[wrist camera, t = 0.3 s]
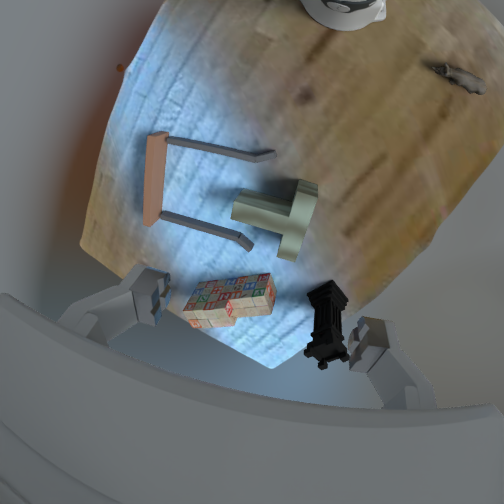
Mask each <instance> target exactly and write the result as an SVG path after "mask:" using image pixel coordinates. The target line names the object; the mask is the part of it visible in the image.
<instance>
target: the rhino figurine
mask: <svg viewBox="0 0 504 504" xmlns="http://www.w3.org/2000/svg"><path fill="white" fill-rule="evenodd" d="M444 65H445V67H432V68H433V69H434V70H435V73H437V74H439V75H442V76H444V77H451V78H450V81H449V82H450V83H451V84H452V85H453V84H456V85H458V86H461V85H462V86H463V87H464V88H465V89H467V91H468V92H469V93H470V94H471V93H476V94H478V95H483V94H485V92H486V90H487V87H486V84H485V82H484V81H483V80H482V79H481V78H478V77H476V76H474V75H473V74H471V73H469V72H466V71H464V70H462V69H460V68H456V69H452V68H449V67H448V65H447V63H445V64H444ZM452 78H453V79H452Z"/></svg>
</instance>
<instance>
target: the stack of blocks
mask: <svg viewBox="0 0 504 504" xmlns="http://www.w3.org/2000/svg"><path fill="white" fill-rule="evenodd" d="M276 293H277V290H276V287H275V285H274V281H273V278H272V276H271V273H268V274H262V275H253V276H245V277H238V278H232V279H225V280H215V281H207V282H199V284H198V285H197V287H196V289H195V291H194V292H193V294H192V296H191V297H190V299H189V300H188V302H187V305H186V306H185V308H184V310H183V313H184V314H185V316H186V318H187V319H188V321H189V323H190V324H191V326H192V327H193V328H212V327H223V326H224V327H227V326H234V325H235V322H236V320H237V318H238V317H252V316H261V315H271V314H272V310H273V306H274V302H275V298H276Z"/></svg>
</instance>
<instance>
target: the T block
mask: <svg viewBox="0 0 504 504" xmlns="http://www.w3.org/2000/svg"><path fill="white" fill-rule="evenodd" d="M317 199H318V185H317V184H314V183H311V182H307V181H304V180H301V179H299V182H298V185H297V189H296V192H295V195H294V199H293V202H290V201H287V200H284V199H280V198H277V197H273V196H270V195H267V194H263V193H259V192H256V191H252V190H249V189H245V188H244V189H243V190H242V191H241V193H240V194H239V195H238V197H237V198H236V199H235V201H234V204H233V209H232V214H231V219H232V220H235V221H239V222H242V223H246V224H249V225H253V226H256V227H259V228H263V229H266V230H269V231H273V232H276V233H279V234H282V237H281V241H280V245H279V249H278V253H277V257H278V258H282V259H285V260H288V261H291V262H295V261H296V258H297V255H298V253H299V250H300V247H301V244H302V242H303V239H304V236H305V233H306V231H307V228H308V225H309V222H310V219H311V216H312V214H313V211H314V208H315V205H316V202H317Z"/></svg>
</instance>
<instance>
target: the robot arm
mask: <svg viewBox="0 0 504 504" xmlns="http://www.w3.org/2000/svg"><path fill="white" fill-rule="evenodd" d="M300 1H301V2H302V3H303V5H304V7H305V9H306V10H307V12H308V13H309V15H310V16H311V17H312V18H313V19H315V20H316V21H317V22H319V23H320V24H322V25H324V26H326V27H329V28H332V29H335V30H341V31H352V30H357V29H360V28H363V27H365V26H366V25H368V24H369V23H371V22H376V21H382V20H384V19H385V18H386V4H385V0H300ZM380 11H382V12H380ZM169 282H170V274H169V273H168V272H165V271H162V270H158V269H155V268H152V267H147V266H144V265H141V264H136V265H135V266H134V267H133V268H132V269H131V271H130V272H129V273H128V274H127V276H126V277H125V278H124V279H123V281H122V282H121V283H120V284H119V286H113V287H110V288H108V289H106V290H103V291H101V292H99V293H96V294H94V295H91V296H89V297H87V298H84V299H82V300H80V301H77V302H75V303H73V304H71V305H70V306H69V308H68V309H67V310H66V312H65V313H64V314H63V315H62V317H61V318H60V319H59V320H58V321H57V322H54V321H53V320H51V319H49V318H47V317H46V316H44V315H42V314H40V313H39V312H37V311H35V310H33V309H32V308H30V307H28V306H27V305H25V304H24V303H22V302H20V301H19V300H17V299H16V298H14V297H13V296H11V295H9V294H7V293H1V294H0V504H504V416H503V415H502V414H501V413H500V411H499V410H498V409H497V408H496V407H495V406H494V405H493V404H491V403H485V404H479V405H470V406H461V407H451V408H437V405H436V399H435V394H434V389H433V385H432V384H431V383H430V382H429V381H428V379H427V378H426V377H425V376H424V374H423V373H422V372H421V371H420V370H419V368H418V367H417V366H416V365H415V364H414V363H413V361H412V360H411V359H410V358H409V357H408V355H407V354H406V353H405V352H404V351H403V350H401V349H400V345H399V341H398V337H397V332H396V328H395V324H394V322H393V321H388V320H381V319H375V318H369V317H364V316H362V317H361V318H360V319H359V320H358V322H357V324H358V327H356V328H354V329H353V330H352V332H351V334H350V337H349V340H348V350H349V351H350V353H351V356H350V357H349V370H350V371H355V372H362V373H367V375H368V377H369V379H370V381H371V383H372V384H373V386H374V388H375V389H376V391H377V393H378V395H379V396H380V398H381V400H382V402H383V403H384V407H382V408H381V409H364V408H349V407H337V406H328V405H319V404H311V403H304V402H297V401H291V400H284V399H279V398H273V397H268V396H263V395H258V394H253V393H248V392H244V391H239V390H235V389H231V388H227V387H223V386H219V385H215V384H211V383H208V382H204V381H201V380H197V379H194V378H190V377H187V376H184V375H181V374H177V373H174V372H171V371H168V370H165V369H163V368H160V367H157V366H154V365H151V364H148V363H146V362H143V361H140V360H138V359H135V358H133V357H130V356H127V355H125V354H122V353H120V352H118V351H115V350H113V349H111V348H109V345H108V343H107V342H108V341H110V340H111V339H113V338H114V337H116V336H118V335H119V334H121V333H122V332H124V331H125V330H127V329H129V328H130V327H131V326H133V325H135V324H136V323H138V322H141V323H145V324H148V325H151V326H154V327H156V325H157V323H158V321H159V320H160V318H161V316H162V313H161V311H162V310H164V309H166V307H167V306H168V304H169V301H170V297H171V287H170V286H169V285H168V283H169Z"/></svg>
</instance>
